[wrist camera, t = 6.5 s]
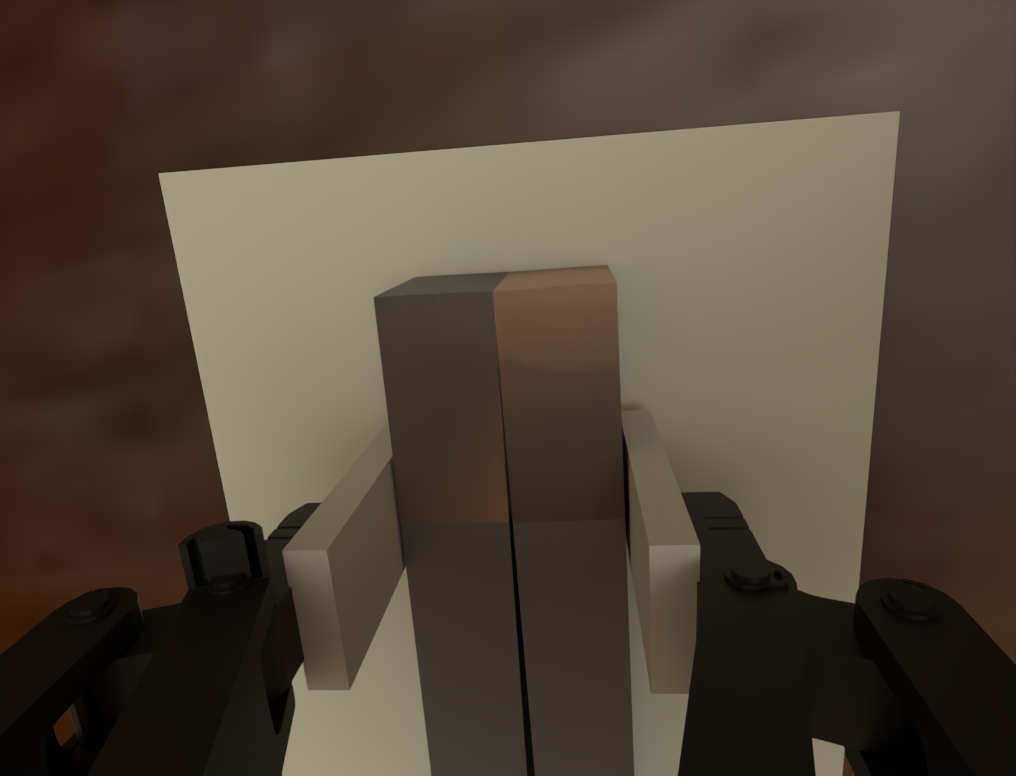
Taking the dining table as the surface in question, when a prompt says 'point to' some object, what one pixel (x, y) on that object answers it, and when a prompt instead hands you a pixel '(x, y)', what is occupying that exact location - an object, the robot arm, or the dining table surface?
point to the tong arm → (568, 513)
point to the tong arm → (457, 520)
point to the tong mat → (642, 346)
